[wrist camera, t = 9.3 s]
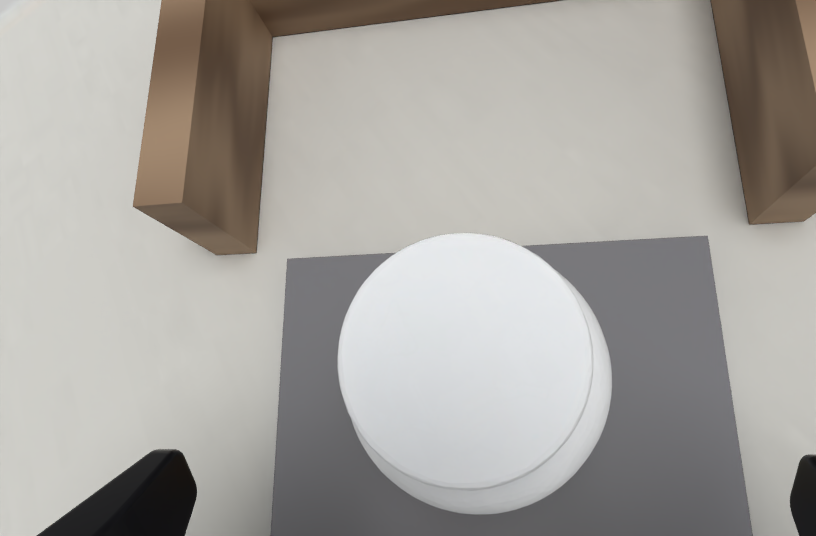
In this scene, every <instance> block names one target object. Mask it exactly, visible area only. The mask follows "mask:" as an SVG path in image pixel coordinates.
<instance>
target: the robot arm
mask: <svg viewBox="0 0 816 536" xmlns="http://www.w3.org/2000/svg"><path fill="white" fill-rule="evenodd" d="M196 496H197V487H196V483H195V480H194V478H193V476H192V473H191V471H190V469H189V466H188V464H187V462H186V459H185V457H184V455H183V453H181V452H180V451H179V450H176V449H158V450H154V451H152V452H150V453H149V454H147V455H146V456H145V457H143V458H142V459H140V460H139V461H138V462H136V463H135V464H134V465H132V466H131V467H130V468H128V469H127V470H125V471H124V472H123V473H121V474H120V475H119V476H117V477H116V478H115V479H113V480H112V481H110V482H109V483H108V484H106V485H105V486H104V487H102V488H101V489H100V490H98V491H97V492H95V493H94V494H93V495H91V496H90V497H89V498H87V499H86V500H85V501H83V502H82V503H80V504H79V505H78V506H76V507H75V508H74V509H72V510H71V511H70V512H68V513H67V514H65V515H64V516H63V517H61V518H60V519H59V520H57V521H56V522H55V523H53V524H52V525H51V526H49V527H48V528H46V529H45V530H44V531H42V532H41V533H40V534H38V535H37V536H185V533H186V530H187V526H188V523H189V520H190V517H191V514H192V511H193V507H194V504H195V501H196ZM790 507H791V512H792V516H793V519H794V522H795V524H796V527H797V530H798V533H799V536H816V455H805V456H804V457H803V458H802V459H801V460H800V462H799V466H798V469H797V473H796V477H795V480H794V484H793V488H792V491H791V496H790Z"/></svg>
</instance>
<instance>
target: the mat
mask: <svg viewBox="0 0 816 536" xmlns="http://www.w3.org/2000/svg"><path fill="white" fill-rule="evenodd" d="M522 247H524V248H526V249H528V250H529V251H531V252H533V253H534V254H536V255H538V256H539V257H541V258H542V259H543V260H544V261H545V262H547V263H548V264H549V265H550V266H551V267H552V268H553V269H554V270H556V271H557V272H558V273H560V274H561V275H562V276H563V277H564V278H566V279H567V280H568V281H569V282H570V283H571V284H572V285H573V286H574V287H575V288H576V290H577V291H578V292H579V293H580V294H581V295H582V297H583V298H584V299H585V301H586V302H587V303H588V305H589V306H590V308H591V310H592V311H593V313H594V315H595V316H596V318H597V321H598V323H599V325H600V327H601V330H602V333H603V335H604V338H605V341H606V344H607V347H608V351H609V356H610V362H611V370H612V393H611V401H610V408H609V412H608V416H607V420H606V423H605V426H604V429H603V431H602V433H601V436H600V438H599V440H598V442H597V444H596V445H595V447H594V449H593V451H592V452H591V454H590V455H589V457H588V458H587V459H586V461H585V462H584V463H583V465H582V466H581V467H580V468H579V470H578V471H577V472H576V473H575V474H574V475H573V476H572V477H571V478H570V479H569V480H568V481H567V482H566V483H565V484H564V485H562V486H561V487H560V488H558V489H557V490H556V491H554V492H553V493H551V494H550V495H548V496H546V497H545V498H543V499H541V500H539V501H537V502H535V503H533V504H531V505H528V506H525V507H522V508H519V509H516V510H512V511H508V512H503V513H498V514H463V513H456V512H452V511H448V510H443V509H440V508H437V507H434V506H432V505H429V504H427V503H425V502H423V501H421V500H418V499H417V498H415V497H413V496H411V495H410V494H408V493H407V492H405V491H404V490H402V489H401V488H399V487H398V486H397V485H396V484H394V483H393V482H392V481H391V480H390V479H389V478H387V477H386V476H385V475H384V474H383V473H382V472H381V471H380V469H379V468H378V467H377V466H376V464H375V463H374V462H373V461H372V459H371V458H370V457H369V455H368V454H367V452H366V450H365V449H364V447H363V445H362V444H361V442H360V440H359V438H358V436H357V433H356V431H355V429H354V426H353V423H352V420H351V417H350V415H349V413H348V411H347V408H346V405H345V402H344V399H343V396H342V392H341V389H340V383H339V377H338V347H339V339H340V334H341V329H342V326H343V322H344V319H345V316H346V313H347V311H348V309H349V307H350V305H351V302H352V301H353V299H354V297H355V295H356V293H357V292H358V290H359V288H360V287H361V286H362V284H363V283H364V282H365V280H366V279H367V278H368V277H369V276H370V275H371V274H372V273H373V271H374V270H375V269H376V268H377V267H379V266H380V265H381V264H382V263H383V262H384V261H386V260H387V259H388V258H389V257H391V256H392V255H394V254H395V253H385V254H367V255H349V256H331V257H312V258H294V259H287V272H286V288H285V305H284V322H283V338H282V355H281V372H280V388H279V405H278V422H277V438H276V455H275V472H274V488H273V505H272V522H271V536H753V534H752V528H751V521H750V514H749V508H748V501H747V494H746V488H745V481H744V474H743V468H742V461H741V454H740V448H739V441H738V434H737V428H736V421H735V414H734V408H733V401H732V395H731V388H730V381H729V375H728V368H727V361H726V355H725V348H724V341H723V335H722V328H721V321H720V315H719V308H718V301H717V295H716V288H715V281H714V275H713V268H712V261H711V255H710V248H709V242H708V236H694V237H676V238H658V239H640V240H621V241H603V242H585V243H567V244H549V245H531V246H522Z"/></svg>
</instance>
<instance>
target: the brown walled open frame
mask: <svg viewBox="0 0 816 536" xmlns="http://www.w3.org/2000/svg"><path fill="white" fill-rule="evenodd" d="M549 1H557V0H162V2H161V9H160V16H159V23H158V30H157V37H156V44H155V52H154V59H153V66H152V73H151V80H150V87H149V94H148V101H147V109H146V116H145V123H144V130H143V137H142V144H141V151H140V158H139V166H138V173H137V180H136V187H135V194H134V201H133V207H135V208H136V209H138V210H140V211H141V212H143V213H145V214H147V215H148V216H150V217H152V218H154V219H155V220H157V221H159V222H160V223H162V224H164V225H166V226H167V227H169V228H171V229H173V230H174V231H176V232H178V233H179V234H181V235H183V236H185V237H186V238H188V239H190V240H192V241H193V242H195V243H197V244H198V245H200V246H202V247H204V248H205V249H207V250H209V251H211V252H212V253H214V254H216V255H226V254H243V253H256V248H257V235H258V222H259V209H260V196H261V182H262V169H263V156H264V143H265V129H266V116H267V103H268V90H269V77H270V63H271V50H272V37H275V36H283V35H290V34H298V33H306V32H314V31H322V30H330V29H337V28H345V27H353V26H361V25H369V24H377V23H385V22H392V21H400V20H408V19H416V18H424V17H432V16H439V15H447V14H455V13H463V12H471V11H479V10H486V9H494V8H502V7H510V6H518V5H526V4H534V3H541V2H549ZM711 4H712V10H713V16H714V22H715V28H716V33H717V39H718V45H719V51H720V57H721V62H722V68H723V74H724V80H725V86H726V91H727V97H728V103H729V109H730V115H731V120H732V126H733V132H734V138H735V144H736V150H737V155H738V161H739V167H740V173H741V179H742V184H743V190H744V196H745V202H746V208H747V213H748V219H749V224H764V223H782V222H799V221H805V220H806V219H808V218H809V217H811V216H812V215H813V214H815V213H816V0H711Z"/></svg>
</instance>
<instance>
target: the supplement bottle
mask: <svg viewBox="0 0 816 536" xmlns="http://www.w3.org/2000/svg"><path fill="white" fill-rule="evenodd" d="M338 377H339V383H340V389H341V392H342V396H343V399H344V402H345V405H346V408H347V411H348V413H349V415H350V417H351V420H352V423H353V426H354V429H355V431H356V433H357V436H358V438H359V440H360V442H361V444H362V445H363V447H364V449H365V450H366V452H367V454H368V455H369V457H370V458H371V459H372V461H373V462H374V463H375V464H376V466H377V467H378V468H379V469H380V471H381V472H382V473H383V474H384V475H385V476H386V477H387V478H389V479H390V480H391V481H392V482H393V483H394V484H396V485H397V486H398V487H399V488H401V489H402V490H404V491H405V492H407V493H408V494H410V495H411V496H413V497H415V498H417V499H418V500H421V501H423V502H425V503H427V504H429V505H432V506H434V507H437V508H440V509H443V510H448V511H452V512H456V513H463V514H498V513H503V512H508V511H512V510H516V509H519V508H522V507H525V506H528V505H531V504H533V503H535V502H537V501H539V500H541V499H543V498H545V497H546V496H548V495H550V494H551V493H553V492H554V491H556V490H557V489H558V488H560V487H561V486H562V485H564V484H565V483H566V482H567V481H568V480H569V479H570V478H571V477H572V476H573V475H574V474H575V473H576V472H577V471H578V470H579V468H580V467H581V466H582V465H583V463H584V462H585V461H586V459H587V458H588V457H589V455H590V454H591V452H592V451H593V449H594V447H595V445H596V444H597V442H598V440H599V438H600V436H601V433H602V431H603V429H604V426H605V423H606V420H607V416H608V412H609V408H610V401H611V393H612V370H611V362H610V356H609V351H608V347H607V344H606V341H605V338H604V335H603V333H602V330H601V327H600V325H599V323H598V321H597V318H596V316H595V315H594V313H593V311H592V310H591V308H590V306H589V305H588V303H587V302H586V301H585V299H584V298H583V297H582V295H581V294H580V293H579V292H578V291H577V290H576V288H575V287H574V286H573V285H572V284H571V283H570V282H569V281H568V280H567V279H566V278H564V277H563V276H562V275H561V274H560V273H558V272H557V271H556V270H554V269H553V268H552V267H551V266H550V265H549V264H548V263H547V262H545V261H544V260H543V259H542V258H541V257H539V256H538V255H536V254H534V253H533V252H531V251H529V250H528V249H526V248H524V247H522V246H520V245H518V244H516V243H514V242H511V241H508V240H505V239H503V238H500V237H495V236H491V235H486V234H478V233H452V234H444V235H439V236H434V237H430V238H427V239H425V240H422V241H419V242H416V243H414V244H411V245H409V246H407V247H405V248H403V249H402V250H400V251H399V252H397V253H395V254H394V255H392V256H391V257H389V258H388V259H387V260H386V261H384V262H383V263H382V264H381V265H380V266H379V267H377V268H376V269H375V270H374V271H373V273H372V274H371V275H370V276H369V277H368V278H367V279H366V280H365V282H364V283H363V284H362V286H361V287H360V288H359V290H358V292H357V293H356V295H355V297H354V299H353V301H352V302H351V305H350V307H349V309H348V311H347V313H346V316H345V319H344V322H343V326H342V329H341V334H340V339H339V347H338Z"/></svg>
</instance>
